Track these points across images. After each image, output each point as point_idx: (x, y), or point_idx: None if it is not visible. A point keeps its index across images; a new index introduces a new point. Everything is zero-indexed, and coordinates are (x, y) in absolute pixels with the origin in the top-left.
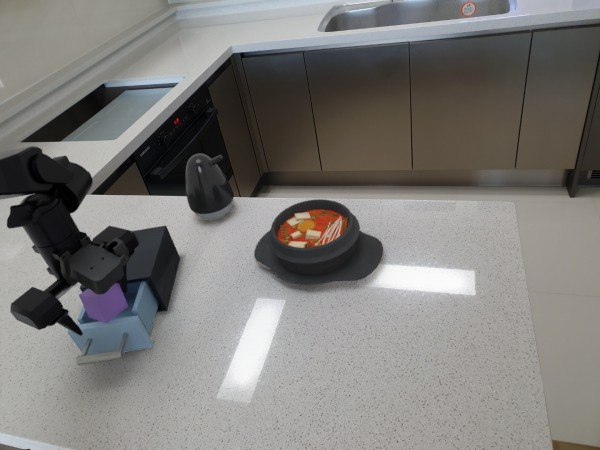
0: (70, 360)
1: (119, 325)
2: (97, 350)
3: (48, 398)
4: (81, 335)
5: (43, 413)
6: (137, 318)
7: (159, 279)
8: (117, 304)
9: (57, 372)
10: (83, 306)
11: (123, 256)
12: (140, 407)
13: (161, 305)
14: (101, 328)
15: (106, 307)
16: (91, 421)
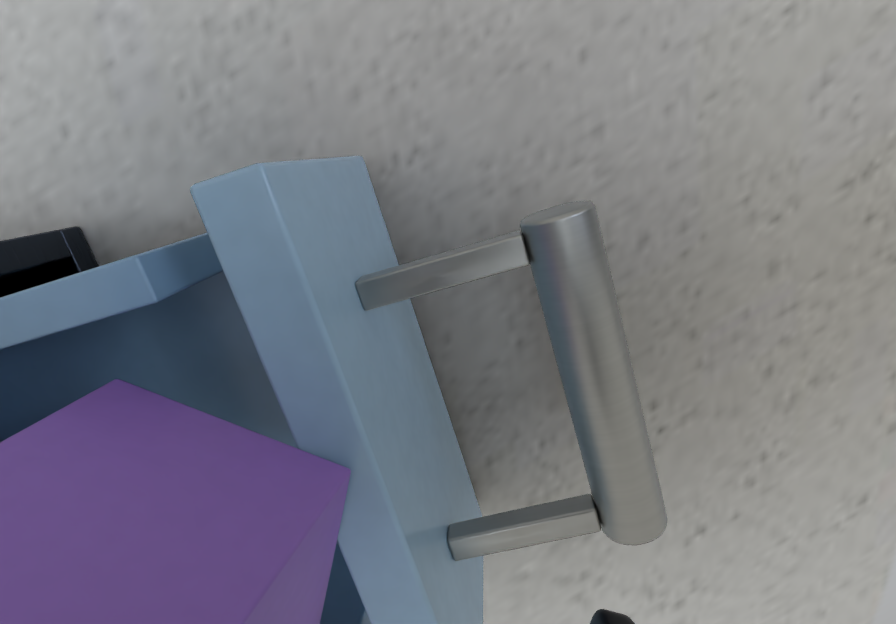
0: (488, 589)
1: (339, 337)
2: (456, 473)
3: (700, 574)
4: (623, 614)
5: (781, 553)
6: (225, 175)
7: None
8: (125, 460)
9: (559, 612)
10: None
11: None
12: (749, 27)
13: (49, 252)
14: (395, 491)
15: (203, 545)
16: (832, 286)
